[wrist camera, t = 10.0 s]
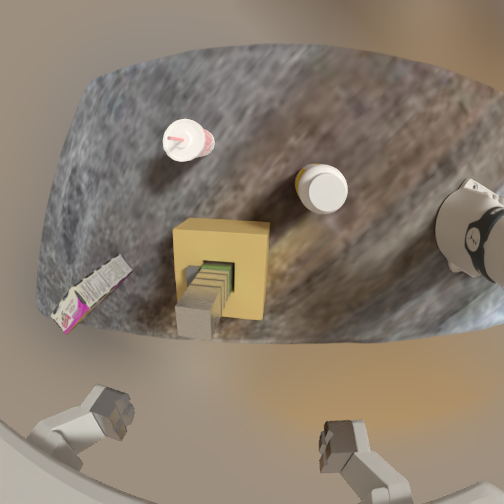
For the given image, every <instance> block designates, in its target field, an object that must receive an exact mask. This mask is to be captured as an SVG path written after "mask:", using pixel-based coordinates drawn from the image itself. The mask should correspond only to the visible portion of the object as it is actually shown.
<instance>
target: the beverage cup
mask: <svg viewBox="0 0 504 504" xmlns="http://www.w3.org/2000/svg"><path fill="white" fill-rule="evenodd" d="M214 144H215V142H214V137H213V136H212V134H211V133H209V132H208V131H207V130H205V129H203V128H202V127H201V126H200V125H199V124H198V123H196V122H195V121H193V120H189V119H181V120H177V121H175V122H174V123H172V124H171V125H170V126H169V127H168V128H167V130H166V131H165V134H164V138H163V146H164V150H165V151H166V153H167V155H168V156H169V157H171V158H172V159H173V160H176V161H180V162H184V161H190V160H192V159H194V158H196V157H201V156H206V155H207V154H209V153H210V152H211V151H212V150H213V148H214Z"/></svg>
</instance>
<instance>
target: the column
mask: <svg viewBox="0 0 504 504" xmlns="http://www.w3.org/2000/svg"><path fill="white" fill-rule="evenodd" d="M234 280H235V263H234V262H221V261H208V260H207V262H206V263H205V264H203V266H202V267H201V270H200V271H199V272H198V274H197V276H196V277H194V280H193V281H192V283H191V284H189V287H188V288H187V290H186V291H185V292H184V294H183V295H182V297H181V298H180V300H179V301H178V302H177V304H176V305H175V312H176V321H177V329H178V336H184V337H191V338H198V339H205V340H212V338H213V335H214V333H215V330H216V328H217V325H218V323H219V320H220V317H221V316H222V312H223V310H224V308H225V305H226V302H227V301H228V297H230V294H231V289H232V287H233V284H234Z"/></svg>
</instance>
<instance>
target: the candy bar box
mask: <svg viewBox="0 0 504 504" xmlns="http://www.w3.org/2000/svg"><path fill="white" fill-rule="evenodd" d="M132 271H133V270H132V268H131V267H130V266H129V265H128V263H127V262H126V261H125V260H124V258H123V257H122V256H121V255H120V254H118V255H116V256H115V257H113V258H112V259H110V260H109V261H107V262H106V263H105V264H103V265H102V266H100V267H99V268H97V269H96V270H95V271H93V272H92V273H90V274H89V275H87V276H86V277H85V278H83V279H82V280H81V281H80V282H78V283H77V284H75V285H74V286H72V287H71V288H70V290H69V291H68V292H67V294H66V295H65V296H64V298H63V299H62V300H61V302H60V303H59V304H58V306H57V307H56V308H55V310H54V311H53V313H52V314H51V317H52V318H53V320H54V321H55V322H56V323H57V325H58V326H59V327H60V328H61V330H62V331H63V332H64V333H65V334H66V335H67V334H68V333H69V332H70V331H71V330H72V329H73V328H74V327H75V326H76V325H78V324H79V323H80V322H81V321H82V320H83V319H84V318H85V317H86V316H87V315H88V314H89V313H90V312H91V311H92V310H94V309H95V308H96V307H97V306H98V305H99V304H100V303H101V302H102V301H103V300H104V299H105V298H106V297H107V296H108V295H110V294H111V293H112V292H113V291H114V290H115V289H116V288H117V287H118V286H119V285H120V284H121V283H122V282H123V281H124V280H125V279H126V278H127V277H128V276H129V274H130V273H131V272H132Z"/></svg>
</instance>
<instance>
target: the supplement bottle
mask: <svg viewBox="0 0 504 504" xmlns="http://www.w3.org/2000/svg"><path fill="white" fill-rule="evenodd" d="M295 188H296V192H297V194H298V196H299V198H300V200H301V201H302V203H303V204H304V206H305V207H306V208H308V209H309V210H310V211H312V212H314V213H318V214H329V213H332V212H334V211H336V210H338V209H339V208H340V207H341V206H342V205H343V203H344V202H345V200H346V197H347V192H348V188H347V183H346V180H345V178H344V176H343V175H342V173H341V172H340V171H339V170H337V169H336V168H334V167H332V166H329V165H323V164H310V165H307V166H305V167H303V168H302V169H301V170H300V171H299V172H298V174H297V176H296V179H295Z"/></svg>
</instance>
